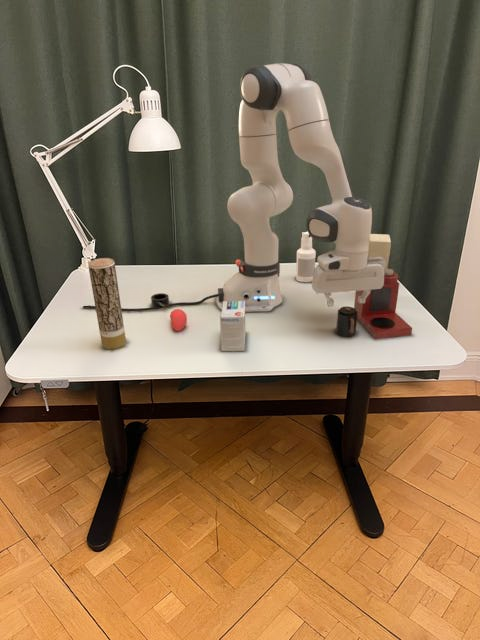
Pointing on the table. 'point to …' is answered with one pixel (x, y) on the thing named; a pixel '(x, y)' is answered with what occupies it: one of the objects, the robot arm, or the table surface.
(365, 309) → the coffee maker
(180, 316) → the red bean-shaped piece
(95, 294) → the paper tube
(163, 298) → the duct tape
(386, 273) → the power button
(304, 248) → the spray bottle
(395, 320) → the warming base
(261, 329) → the table surface
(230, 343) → the light bulb box
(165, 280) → the table surface
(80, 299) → the table surface
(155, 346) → the table surface
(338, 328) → the kettle
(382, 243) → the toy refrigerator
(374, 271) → the robot arm
